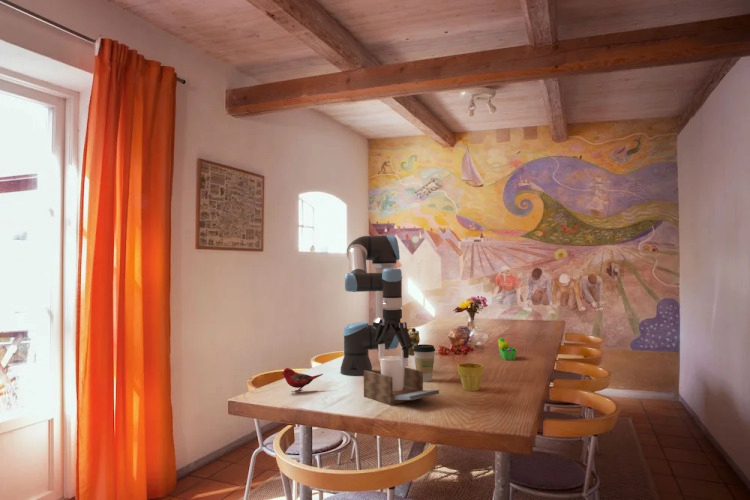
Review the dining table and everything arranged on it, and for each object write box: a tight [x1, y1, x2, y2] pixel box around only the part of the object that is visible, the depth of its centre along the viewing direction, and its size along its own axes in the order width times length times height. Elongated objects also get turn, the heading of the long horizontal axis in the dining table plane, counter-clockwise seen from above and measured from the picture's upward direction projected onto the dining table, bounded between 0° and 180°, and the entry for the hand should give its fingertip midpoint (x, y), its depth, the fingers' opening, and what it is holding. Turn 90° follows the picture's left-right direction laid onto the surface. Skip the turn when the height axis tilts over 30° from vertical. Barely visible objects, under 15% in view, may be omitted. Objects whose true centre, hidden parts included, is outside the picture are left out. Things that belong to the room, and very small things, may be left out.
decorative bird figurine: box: [280, 367, 324, 393], centre depth 209 cm, size 3×18×10 cm, turn 113°
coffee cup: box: [413, 343, 436, 383], centre depth 227 cm, size 10×10×15 cm
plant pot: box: [457, 362, 485, 392], centre depth 210 cm, size 10×10×10 cm
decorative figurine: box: [407, 327, 421, 356], centre depth 291 cm, size 10×8×15 cm
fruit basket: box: [497, 337, 518, 361], centre depth 275 cm, size 11×9×11 cm
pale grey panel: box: [394, 389, 440, 401], centre depth 188 cm, size 1×13×10 cm
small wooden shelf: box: [363, 366, 424, 406], centre depth 198 cm, size 16×16×10 cm
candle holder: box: [379, 355, 406, 392], centre depth 199 cm, size 10×10×12 cm
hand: (392, 363), depth 199 cm, fingers open, 13 cm apart
